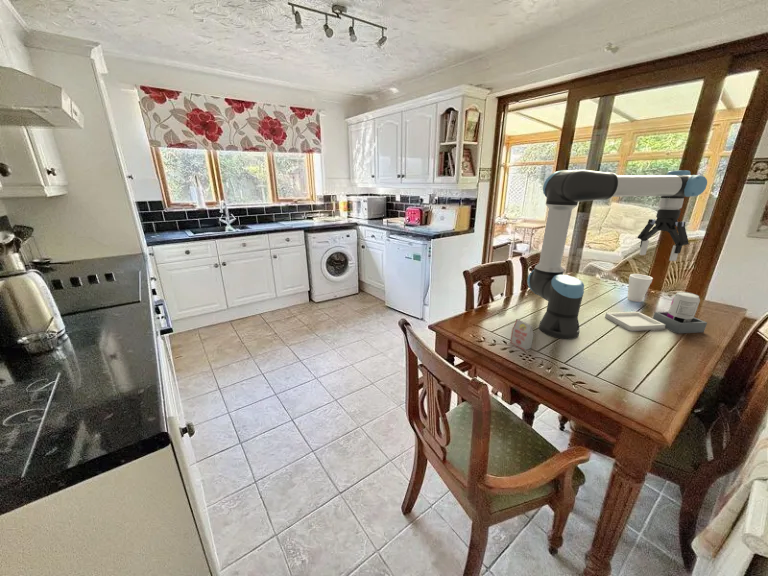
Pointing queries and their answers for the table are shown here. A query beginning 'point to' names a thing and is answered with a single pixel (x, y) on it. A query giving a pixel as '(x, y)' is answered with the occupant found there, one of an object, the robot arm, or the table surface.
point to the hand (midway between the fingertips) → (656, 257)
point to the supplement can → (683, 307)
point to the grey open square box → (680, 324)
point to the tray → (635, 321)
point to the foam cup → (638, 287)
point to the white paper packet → (522, 335)
